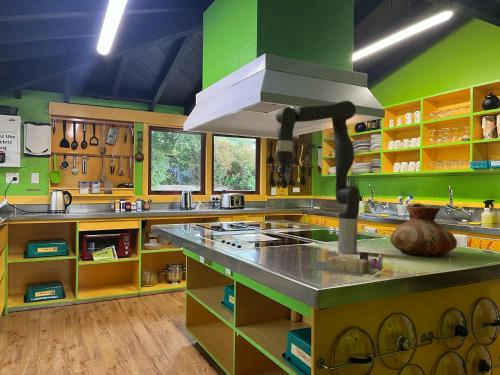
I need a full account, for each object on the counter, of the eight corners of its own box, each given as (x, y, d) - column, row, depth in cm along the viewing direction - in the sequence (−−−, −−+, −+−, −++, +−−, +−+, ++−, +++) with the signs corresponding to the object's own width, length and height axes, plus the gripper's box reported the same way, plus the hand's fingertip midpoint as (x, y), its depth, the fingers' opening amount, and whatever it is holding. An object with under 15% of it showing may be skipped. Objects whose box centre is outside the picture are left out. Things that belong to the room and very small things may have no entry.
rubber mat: (319, 262, 163) (319, 261, 163) (374, 270, 150) (374, 268, 150) (303, 269, 150) (303, 267, 150) (361, 278, 137) (361, 276, 137)
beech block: (333, 255, 154) (369, 260, 146) (333, 265, 154) (369, 270, 146) (327, 258, 149) (365, 263, 141) (327, 268, 149) (364, 273, 141)
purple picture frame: (359, 251, 155) (382, 253, 150) (363, 253, 159) (385, 256, 154) (357, 267, 153) (380, 270, 148) (361, 269, 157) (383, 272, 152)
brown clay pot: (470, 257, 179) (471, 205, 179) (419, 261, 170) (420, 205, 170) (423, 247, 208) (424, 202, 208) (377, 249, 199) (378, 202, 198)
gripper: (285, 149, 168) (284, 188, 168) (298, 151, 178) (298, 188, 179) (270, 150, 172) (270, 188, 172) (284, 152, 183) (284, 188, 183)
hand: (284, 188), depth 175 cm, fingers closed
